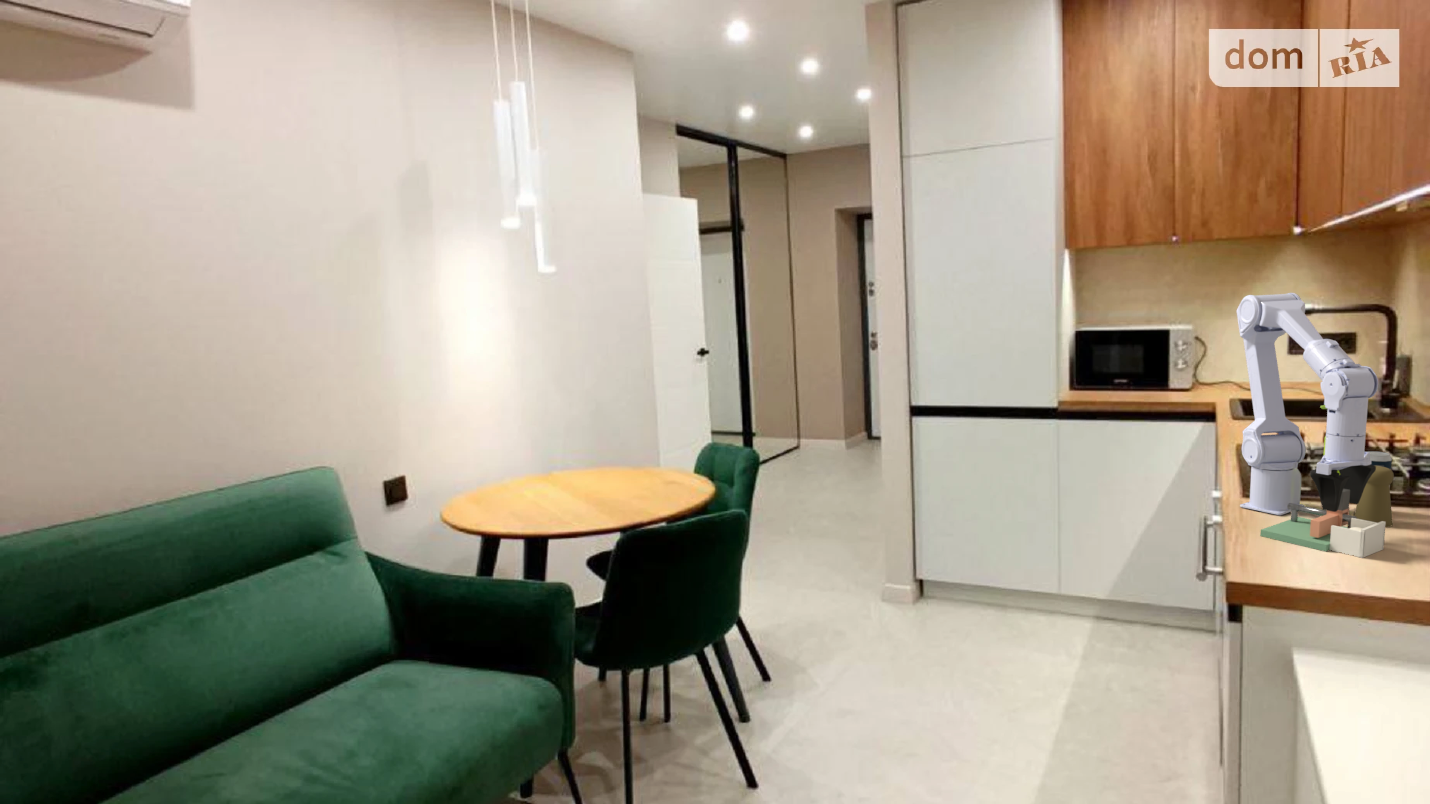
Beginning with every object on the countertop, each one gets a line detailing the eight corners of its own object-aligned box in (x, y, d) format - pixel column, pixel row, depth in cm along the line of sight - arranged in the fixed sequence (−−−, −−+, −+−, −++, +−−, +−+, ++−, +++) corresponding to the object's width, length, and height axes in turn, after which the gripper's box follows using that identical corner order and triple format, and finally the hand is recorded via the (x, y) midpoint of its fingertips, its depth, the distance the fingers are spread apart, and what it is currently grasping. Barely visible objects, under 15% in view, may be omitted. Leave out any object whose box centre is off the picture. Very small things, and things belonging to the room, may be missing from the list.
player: (1333, 525, 155) (1335, 487, 154) (1347, 528, 153) (1350, 489, 152) (1306, 535, 151) (1309, 495, 149) (1321, 538, 149) (1324, 498, 147)
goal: (1351, 541, 151) (1352, 515, 150) (1383, 549, 146) (1385, 521, 146) (1329, 550, 147) (1331, 522, 146) (1362, 557, 143) (1364, 529, 142)
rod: (1290, 519, 161) (1291, 502, 160) (1355, 533, 151) (1356, 515, 151) (1286, 520, 160) (1287, 503, 160) (1352, 535, 151) (1353, 516, 150)
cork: (1375, 516, 163) (1379, 462, 162) (1401, 526, 157) (1405, 469, 156) (1345, 518, 163) (1348, 464, 161) (1370, 528, 157) (1374, 471, 155)
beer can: (1359, 507, 170) (1363, 449, 168) (1389, 511, 166) (1394, 452, 164) (1355, 512, 166) (1359, 454, 164) (1386, 517, 163) (1390, 457, 161)
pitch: (1297, 522, 162) (1298, 516, 162) (1363, 536, 153) (1363, 530, 153) (1260, 535, 156) (1260, 529, 156) (1326, 551, 147) (1326, 545, 146)
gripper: (1350, 443, 143) (1345, 518, 145) (1391, 431, 150) (1386, 504, 152) (1305, 436, 149) (1300, 509, 151) (1346, 425, 156) (1342, 495, 158)
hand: (1340, 506), depth 152 cm, fingers open, 7 cm apart
